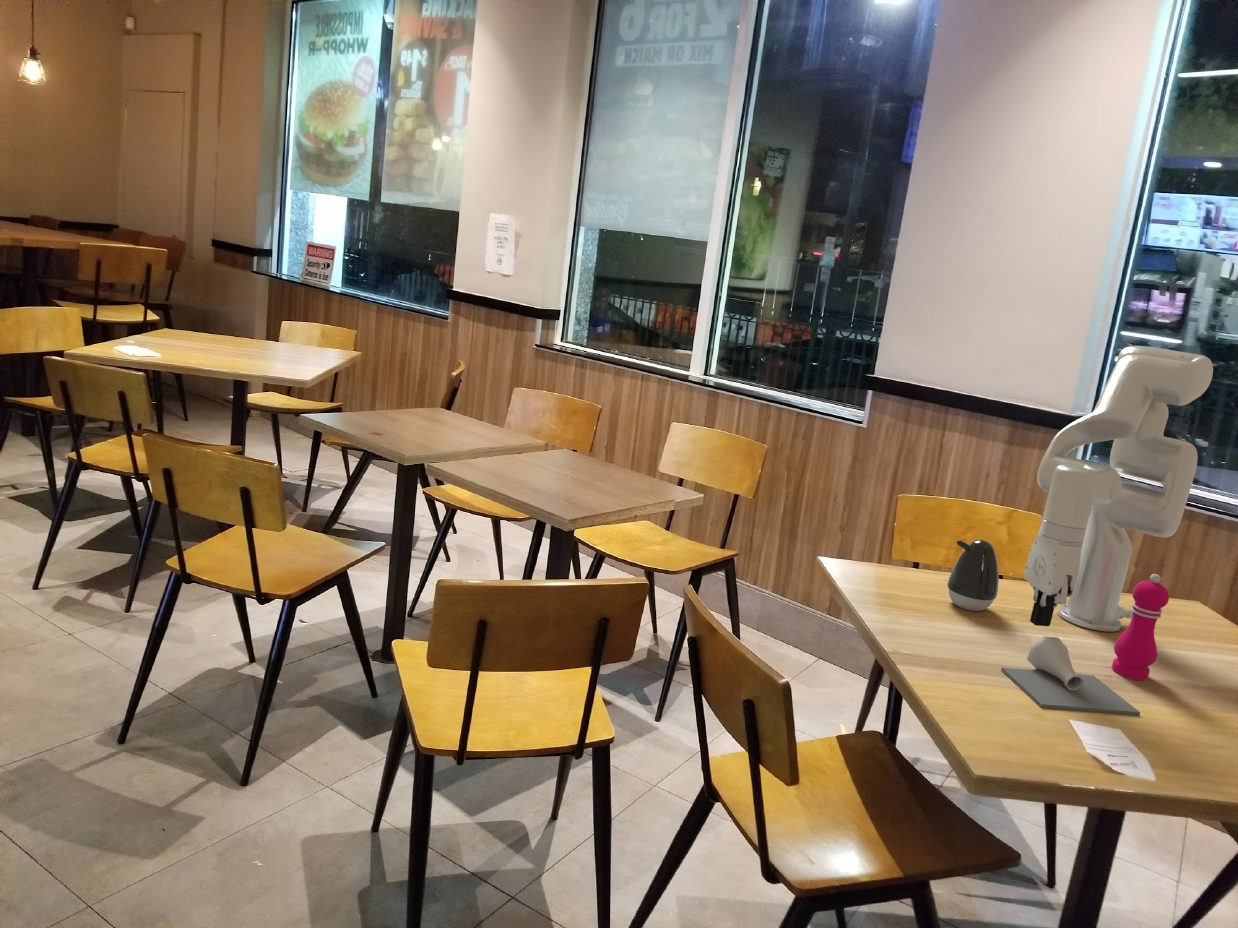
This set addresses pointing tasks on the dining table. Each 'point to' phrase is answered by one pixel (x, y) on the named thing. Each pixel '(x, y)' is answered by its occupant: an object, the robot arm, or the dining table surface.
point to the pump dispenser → (974, 576)
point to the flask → (1054, 661)
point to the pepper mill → (1141, 631)
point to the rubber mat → (1069, 692)
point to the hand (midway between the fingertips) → (1039, 623)
